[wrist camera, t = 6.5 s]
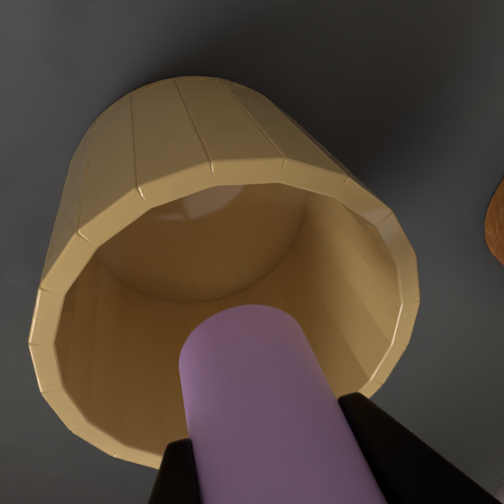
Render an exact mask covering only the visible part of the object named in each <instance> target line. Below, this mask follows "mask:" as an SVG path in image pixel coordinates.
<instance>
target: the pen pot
mask: <svg viewBox="0 0 504 504" xmlns="http://www.w3.org/2000/svg"><path fill="white" fill-rule="evenodd" d="M253 304H257V305H266V306H271V307H274V308H277V309H280V310H282V311H284V312H286V313H287V314H289V315H290V316H292V317H293V318H294V319H295V320H296V321H297V322H298V323H299V325H300V326H301V328H302V330H303V332H304V334H305V336H306V338H307V340H308V342H309V344H310V346H311V348H312V350H313V352H314V354H315V356H316V358H317V360H318V362H319V364H320V366H321V369H322V371H323V373H324V375H325V377H326V379H327V381H328V383H329V385H330V387H331V389H332V391H333V393H334V395H335V397H336V399H337V401H338V398H339V396H342V395H345V394H349V393H353V392H360V393H362V394H363V395H364V396H366V397H367V398H368V399H369V398H370V397H371V396H372V395H373V394H374V393H375V392H376V391H377V390H378V389H379V388H380V387H381V386H382V385H383V383H385V381H386V380H387V378H388V377H389V375H390V373H391V372H392V370H393V369H394V367H395V365H396V364H397V362H398V360H399V359H400V357H401V356H402V354H403V352H404V351H405V349H406V348H407V344H409V341H410V338H411V334H412V330H413V327H414V323H415V319H416V316H417V312H418V308H419V305H420V290H419V279H418V268H417V257H416V254H415V250H414V249H413V247H412V245H411V243H410V241H409V239H408V238H407V236H406V234H405V232H404V230H403V228H402V227H401V225H400V223H399V221H398V219H397V217H396V216H395V214H394V212H393V211H392V210H391V209H390V208H389V207H388V206H387V205H386V204H385V203H384V202H383V201H382V200H381V199H380V198H379V197H377V196H376V195H375V194H374V193H373V192H372V191H371V190H370V189H369V188H368V187H367V186H366V185H364V184H363V183H362V182H361V181H360V180H359V179H358V178H357V177H356V176H355V175H354V174H353V173H351V172H350V171H349V170H348V169H347V168H346V167H345V166H344V165H343V164H342V163H341V162H339V161H338V160H337V159H336V158H335V157H334V156H333V155H332V154H331V153H330V152H329V151H328V150H326V149H325V148H324V147H323V146H322V145H321V144H320V143H319V142H318V141H317V140H316V139H315V138H313V137H312V136H311V135H310V134H309V133H308V132H307V131H306V130H305V129H304V128H303V127H302V126H300V125H299V124H298V123H297V122H296V121H295V120H294V119H293V118H292V117H290V116H289V115H288V114H287V113H285V112H284V111H283V110H282V109H280V108H279V107H278V106H277V105H276V104H274V103H273V102H272V101H271V100H269V99H268V98H267V97H265V96H264V95H262V94H260V93H258V92H257V91H255V90H253V89H251V88H249V87H247V86H244V85H241V84H239V83H236V82H233V81H229V80H225V79H221V78H216V77H206V76H182V77H175V78H170V79H164V80H160V81H157V82H154V83H151V84H148V85H145V86H142V87H140V88H138V89H136V90H134V91H132V92H130V93H128V94H126V95H125V96H123V97H122V98H120V99H119V100H117V101H116V102H114V103H113V104H112V105H111V106H109V107H108V108H107V109H106V110H105V111H104V112H103V113H102V114H101V115H99V116H98V118H97V119H96V120H95V121H94V122H93V124H92V125H91V126H90V127H89V128H88V130H87V131H86V133H85V134H84V136H83V138H82V139H81V141H80V143H79V144H78V146H77V149H76V151H75V154H74V155H73V157H72V159H71V161H70V164H69V168H68V172H67V176H66V180H65V184H64V188H63V192H62V196H61V200H60V204H59V208H58V212H57V216H56V220H55V224H54V228H53V232H52V236H51V240H50V244H49V248H48V252H47V256H46V260H45V263H44V267H43V271H42V275H41V279H40V283H39V287H38V292H37V297H36V302H35V307H34V312H33V317H32V323H31V328H30V333H29V338H28V341H29V344H28V346H29V350H30V354H31V358H32V362H33V366H34V370H35V374H36V378H37V382H38V386H39V390H40V392H41V394H42V396H43V397H44V398H45V399H46V401H47V402H48V403H49V405H50V406H51V407H52V408H53V410H54V411H55V412H56V413H57V415H58V416H59V417H60V419H61V420H62V421H63V422H64V424H65V425H66V426H67V427H68V429H69V430H71V431H72V432H73V433H74V434H76V435H77V436H79V437H81V438H82V439H84V440H86V441H87V442H89V443H91V444H92V445H94V446H95V447H97V448H99V449H100V450H102V451H104V452H105V453H107V454H109V455H110V456H113V457H115V458H119V459H122V460H126V461H130V462H133V463H137V464H141V465H145V466H148V467H152V468H156V469H159V467H160V464H161V461H162V458H163V455H164V452H165V449H166V446H167V445H168V444H169V443H170V442H173V441H176V440H180V439H184V438H189V436H188V429H187V422H186V415H185V408H184V401H183V394H182V387H181V380H180V373H179V357H180V353H181V350H182V348H183V345H184V343H185V341H186V340H187V338H188V337H189V335H190V334H191V333H192V332H193V330H194V329H195V328H196V327H197V326H198V325H200V324H201V323H202V322H203V321H205V320H206V319H208V318H209V317H211V316H212V315H214V314H216V313H218V312H221V311H223V310H226V309H229V308H232V307H236V306H241V305H253Z"/></svg>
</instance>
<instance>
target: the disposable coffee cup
mask: <svg viewBox="0 0 504 504" xmlns="http://www.w3.org/2000/svg"><path fill="white" fill-rule="evenodd" d="M485 239H486V243H487V246H488V248H489V249H490V251H491V253H492V254H493V255H494V256H495V257H496V258H497V259H498V260H499V261H500V262H501V263H502V265H503V266H504V178H503V180H502V181H501V183H500V185H499V186H498V188H497V190H496V192H495V194H494V195H493V197H492V199H491V202H490V204H489V207H488V210H487V214H486V219H485Z"/></svg>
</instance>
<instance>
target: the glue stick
mask: <svg viewBox="0 0 504 504" xmlns="http://www.w3.org/2000/svg"><path fill="white" fill-rule="evenodd" d="M179 373H180V380H181V387H182V394H183V401H184V408H185V415H186V422H187V429H188V436H189V439H190V440H191V445H192V451H193V458H194V465H195V472H196V479H197V486H198V493H199V500H200V504H388V503H387V501H386V499H385V497H384V495H383V493H382V491H381V489H380V487H379V485H378V483H377V481H376V478H375V476H374V474H373V472H372V470H371V468H370V466H369V464H368V462H367V460H366V458H365V456H364V454H363V452H362V450H361V448H360V446H359V444H358V442H357V440H356V438H355V436H354V434H353V432H352V430H351V428H350V426H349V424H348V421H347V419H346V417H345V415H344V413H343V411H342V409H341V407H340V405H339V403H338V401H337V399H336V397H335V395H334V393H333V391H332V389H331V387H330V385H329V383H328V381H327V379H326V377H325V375H324V373H323V371H322V369H321V366H320V364H319V362H318V360H317V358H316V356H315V354H314V352H313V350H312V348H311V346H310V344H309V342H308V340H307V338H306V336H305V334H304V332H303V330H302V328H301V326H300V325H299V323H298V322H297V321H296V320H295V319H294V318H293V317H292V316H290V315H289V314H287V313H286V312H284V311H282V310H280V309H277V308H274V307H271V306H266V305H257V304H253V305H241V306H236V307H232V308H229V309H226V310H223V311H221V312H218V313H216V314H214V315H212V316H211V317H209V318H208V319H206V320H205V321H203V322H202V323H201V324H200V325H198V326H197V327H196V328H195V329H194V330H193V332H192V333H191V334H190V335H189V337H188V338H187V340H186V341H185V343H184V345H183V348H182V350H181V353H180V357H179Z"/></svg>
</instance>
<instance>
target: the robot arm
mask: <svg viewBox="0 0 504 504" xmlns="http://www.w3.org/2000/svg"><path fill="white" fill-rule="evenodd" d="M338 403H339V405H340V407H341V409H342V411H343V413H344V415H345V417H346V419H347V421H348V424H349V426H350V428H351V430H352V432H353V434H354V436H355V438H356V440H357V442H358V444H359V446H360V448H361V450H362V452H363V454H364V456H365V458H366V460H367V462H368V464H369V466H370V468H371V470H372V472H373V474H374V476H375V478H376V481H377V483H378V485H379V487H380V489H381V491H382V493H383V495H384V497H385V499H386V501H387V503H388V504H502V503H501V502H500V501H498V500H497V499H496V498H495V497H493V496H492V495H491V494H490V493H488V492H487V491H486V490H484V489H483V488H482V487H481V486H479V485H478V484H477V483H476V482H474V481H473V480H472V479H470V478H469V477H468V476H467V475H465V474H464V473H463V472H461V471H460V470H459V469H458V468H456V467H455V466H454V465H453V464H451V463H450V462H449V461H447V460H446V459H445V458H444V457H442V456H441V455H440V454H438V453H437V452H436V451H435V450H433V449H432V448H431V447H430V446H428V445H427V444H426V443H424V442H423V441H422V440H421V439H419V438H418V437H417V436H416V435H414V434H413V433H412V432H410V431H409V430H408V429H407V428H405V427H404V426H403V425H401V424H400V423H399V422H398V421H396V420H395V419H394V418H393V417H391V416H390V415H389V414H387V413H386V412H385V411H384V410H382V409H381V408H380V407H378V406H377V405H376V404H375V403H373V402H372V401H371V400H370V399H368V398H367V397H366V396H364V395H363V394H362V393H360V392H353V393H349V394H345V395H342V396H339V398H338ZM148 504H200V500H199V493H198V486H197V479H196V472H195V465H194V458H193V451H192V445H191V440H190V439H189V438H184V439H180V440H176V441H173V442H170V443H169V444H168V445H167V446H166V449H165V452H164V455H163V458H162V461H161V464H160V467H159V470H158V473H157V477H156V480H155V483H154V486H153V489H152V492H151V495H150V499H149V502H148Z"/></svg>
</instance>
